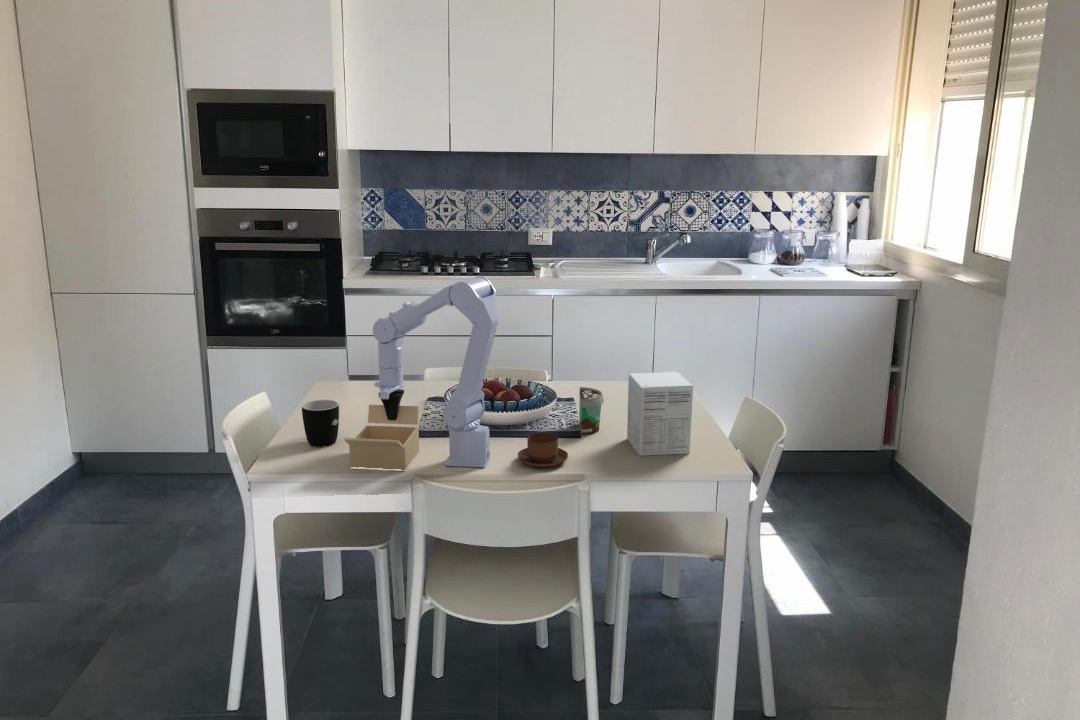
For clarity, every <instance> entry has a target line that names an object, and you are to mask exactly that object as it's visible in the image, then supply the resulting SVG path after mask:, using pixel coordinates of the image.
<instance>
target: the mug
mask: <svg viewBox="0 0 1080 720" xmlns="http://www.w3.org/2000/svg"><path fill="white" fill-rule="evenodd" d="M301 415H302V416H301V417H302V421H303V428H304V434H305V437H306V440H307V443H308V444H309V446H310V447H313V446H315V447H314V448H324V447H323V446H328V447H330V446H329V445H331V446H333V445H335V444H336V442H337V440H338V436H339V435H338V434H339V426H340V424H339V423H340V405H339V402H337V401H335V400H332V399H315V400H310V401H307V402H305V403H303V404H302V405H301ZM332 444H333V445H332Z"/></svg>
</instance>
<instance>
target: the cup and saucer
mask: <svg viewBox="0 0 1080 720" xmlns="http://www.w3.org/2000/svg"><path fill="white" fill-rule="evenodd" d="M526 440H527V443H526V444H527V447H525V448H522V449H521V450H520V451H518V452H517V458H518V460H519V461H520V462H522V463H523V464H525V465H526V466H530V467H535V468H551V467H556V466H559V465H561V464H563V463H565V461H567V459H568V457H569V453H568V452H567V451H566V450H564V449H562V448H559V437H558V435H556V434H554V433H551V432H550V433H549V432H535V433H532V434H530V435H528V436H527V439H526Z"/></svg>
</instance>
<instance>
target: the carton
mask: <svg viewBox="0 0 1080 720" xmlns="http://www.w3.org/2000/svg"><path fill="white" fill-rule="evenodd" d="M419 430H420V429H419V427H415V426H391V425H388V426H387V425H366V426H364V428H362V430H361V431H360V432H359V433H358V434H357V436H355V438H360V439H385V440H399V441H400V443H401V444H402V445H403V447H379V446H354V445H349V444H348V446H349V449H348V450H349V463H350V464H349V465H350V466H349V467H357V468H358V467H364V468H365V467H366V468H383V469H401V470H406V468H407V467H408V465H409V464H410V462H411V461H412V459H413V458H414V457H415V458H416V456H417V455H418V453H419V452H420V438H419V437H420V436H419V435H420V434H419V432H420V431H419ZM418 451H419V452H418ZM417 452H418V453H417ZM416 454H417V455H416ZM415 455H416V456H415ZM415 458H414V459H415ZM414 459H413V460H414ZM412 462H413V461H412ZM412 462H411V463H412ZM410 465H411V464H410ZM410 465H409V466H410ZM408 468H409V467H408ZM408 468H407V469H408ZM406 471H407V470H406Z"/></svg>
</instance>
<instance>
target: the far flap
mask: <svg viewBox="0 0 1080 720" xmlns="http://www.w3.org/2000/svg"><path fill="white" fill-rule="evenodd" d="M419 410H420V407H419V405H417V406H416V405H399V410H398V416H397V419H396V420H388V419H387V416H386V412H385V408H384V405H383V404H369V405H368V412H367V413H368V415H367V416H368V417H367V424H385V425H386V424H387V425H389V424H390V425H413V426H414V425H416V426H418V425H419Z"/></svg>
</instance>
